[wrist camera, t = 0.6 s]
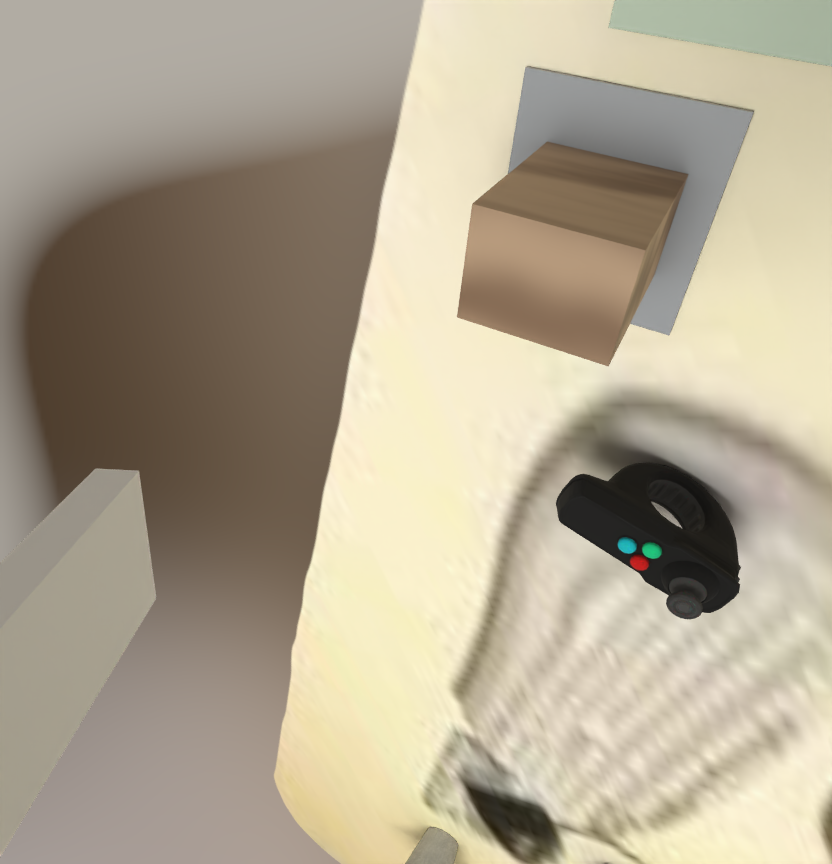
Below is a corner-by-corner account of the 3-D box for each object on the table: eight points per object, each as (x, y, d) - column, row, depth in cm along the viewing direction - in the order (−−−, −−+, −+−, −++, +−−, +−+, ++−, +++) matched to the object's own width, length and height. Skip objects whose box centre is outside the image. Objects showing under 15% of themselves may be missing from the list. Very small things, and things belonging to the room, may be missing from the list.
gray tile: (527, 66, 37) (525, 67, 37) (753, 111, 34) (753, 112, 33) (491, 279, 46) (490, 281, 45) (670, 333, 42) (669, 335, 42)
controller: (724, 541, 49) (703, 648, 42) (575, 452, 51) (532, 542, 44) (763, 507, 46) (747, 617, 39) (603, 414, 48) (561, 503, 41)
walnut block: (547, 141, 39) (472, 203, 31) (688, 174, 36) (645, 250, 29) (527, 240, 43) (457, 317, 35) (654, 275, 40) (608, 366, 33)
